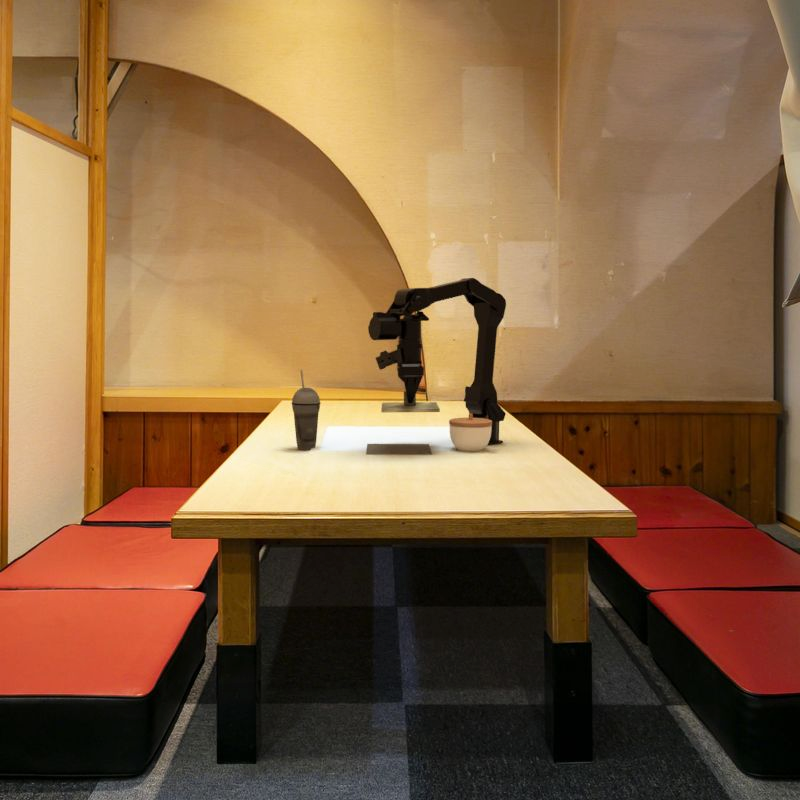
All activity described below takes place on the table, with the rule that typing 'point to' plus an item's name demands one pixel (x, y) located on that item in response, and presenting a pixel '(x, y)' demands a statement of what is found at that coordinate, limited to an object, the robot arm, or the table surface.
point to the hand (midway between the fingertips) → (410, 402)
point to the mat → (398, 449)
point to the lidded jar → (470, 433)
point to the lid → (410, 406)
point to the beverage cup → (306, 416)
